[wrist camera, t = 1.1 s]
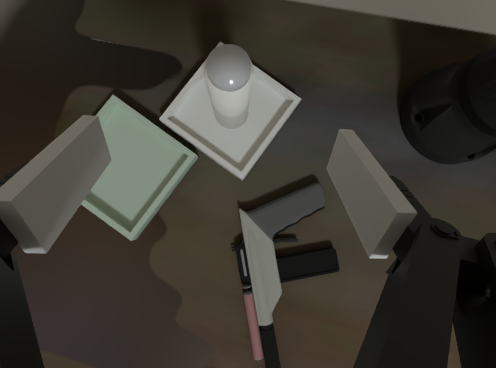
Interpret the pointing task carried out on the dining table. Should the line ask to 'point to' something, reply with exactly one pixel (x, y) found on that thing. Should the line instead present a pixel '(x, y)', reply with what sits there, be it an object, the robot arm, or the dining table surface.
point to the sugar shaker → (229, 84)
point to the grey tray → (231, 140)
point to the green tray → (135, 169)
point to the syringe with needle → (276, 262)
